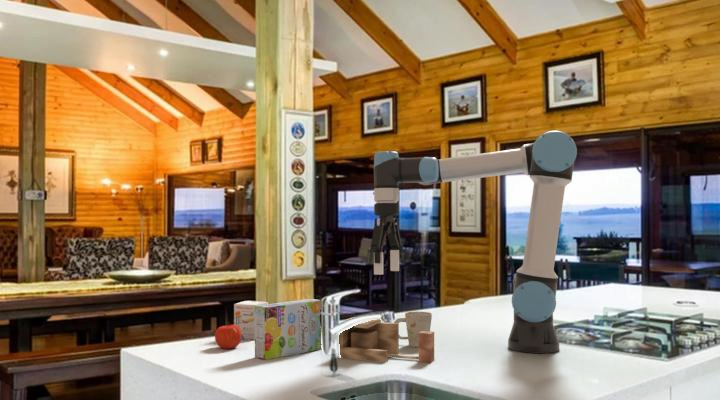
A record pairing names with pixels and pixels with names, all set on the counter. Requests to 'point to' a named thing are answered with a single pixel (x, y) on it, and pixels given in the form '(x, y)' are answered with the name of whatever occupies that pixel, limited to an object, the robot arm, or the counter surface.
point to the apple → (228, 336)
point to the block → (370, 341)
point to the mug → (415, 325)
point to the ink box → (246, 318)
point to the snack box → (287, 328)
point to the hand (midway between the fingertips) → (387, 272)
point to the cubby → (386, 341)
